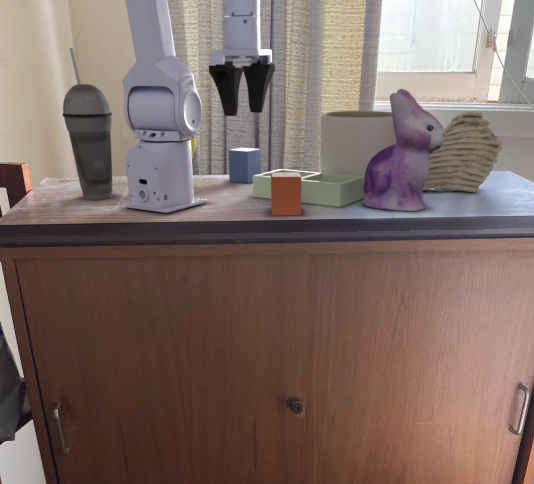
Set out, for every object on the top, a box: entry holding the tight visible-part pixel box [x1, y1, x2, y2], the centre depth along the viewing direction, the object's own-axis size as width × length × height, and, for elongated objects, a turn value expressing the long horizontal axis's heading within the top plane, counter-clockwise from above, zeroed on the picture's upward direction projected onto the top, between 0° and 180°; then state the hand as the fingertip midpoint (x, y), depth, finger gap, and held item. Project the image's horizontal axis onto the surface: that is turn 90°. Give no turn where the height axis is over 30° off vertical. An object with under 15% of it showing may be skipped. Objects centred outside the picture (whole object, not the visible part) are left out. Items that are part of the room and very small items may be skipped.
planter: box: [319, 110, 396, 177], centre depth 111 cm, size 12×12×11 cm
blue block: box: [228, 147, 262, 184], centre depth 119 cm, size 4×4×5 cm
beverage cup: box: [62, 47, 114, 201], centre depth 102 cm, size 7×7×20 cm
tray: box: [252, 168, 365, 208], centre depth 106 cm, size 15×8×3 cm, turn 57°
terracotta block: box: [270, 172, 302, 217], centre depth 96 cm, size 4×4×5 cm
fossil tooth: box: [422, 111, 503, 193], centre depth 109 cm, size 12×6×15 cm
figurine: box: [362, 88, 446, 212], centre depth 97 cm, size 9×10×15 cm
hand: (243, 114), depth 115 cm, fingers open, 7 cm apart
